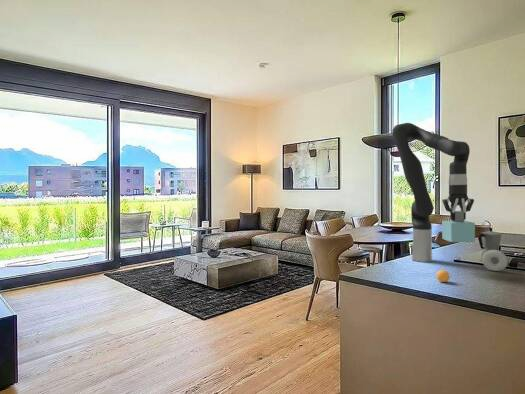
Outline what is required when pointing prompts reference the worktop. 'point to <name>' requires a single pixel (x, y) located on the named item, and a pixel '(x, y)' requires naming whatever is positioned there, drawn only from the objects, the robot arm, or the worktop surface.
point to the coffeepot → (489, 243)
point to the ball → (443, 276)
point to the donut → (497, 254)
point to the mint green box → (458, 229)
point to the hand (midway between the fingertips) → (458, 220)
